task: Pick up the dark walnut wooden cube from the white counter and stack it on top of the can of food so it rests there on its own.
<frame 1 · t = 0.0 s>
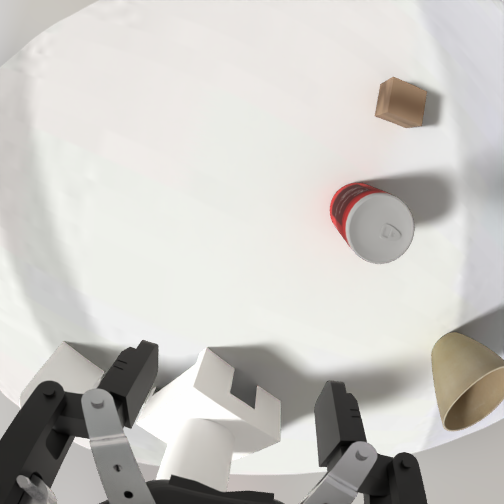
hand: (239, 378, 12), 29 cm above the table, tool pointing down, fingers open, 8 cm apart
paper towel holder: (213, 396, 52), on the table
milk: (79, 369, 55), on the table
walnut cube: (393, 106, 33), on the table
canned food: (355, 209, 38), on the table
plant pot: (445, 347, 45), on the table
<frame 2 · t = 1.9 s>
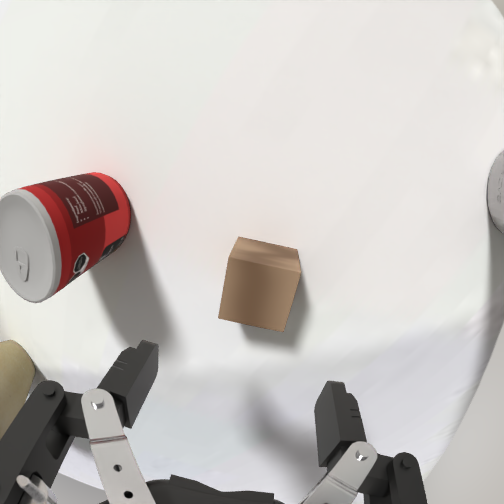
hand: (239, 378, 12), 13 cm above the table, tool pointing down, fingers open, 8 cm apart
walnut cube: (261, 269, 25), on the table
canned food: (101, 212, 25), on the table
plant pot: (20, 356, 35), on the table
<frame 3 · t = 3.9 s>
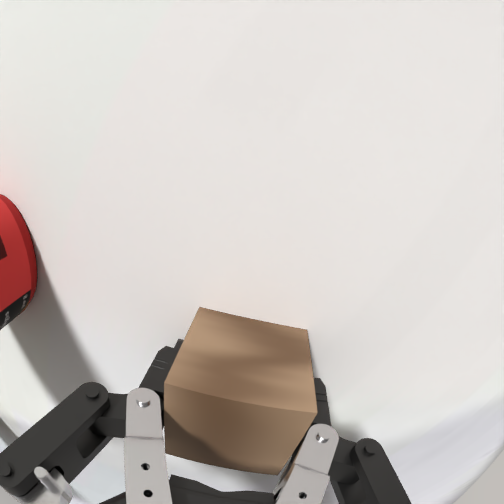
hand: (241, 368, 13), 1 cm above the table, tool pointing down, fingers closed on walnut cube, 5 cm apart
walnut cube: (243, 359, 14), on the table, touching gripper
canned food: (6, 250, 13), on the table
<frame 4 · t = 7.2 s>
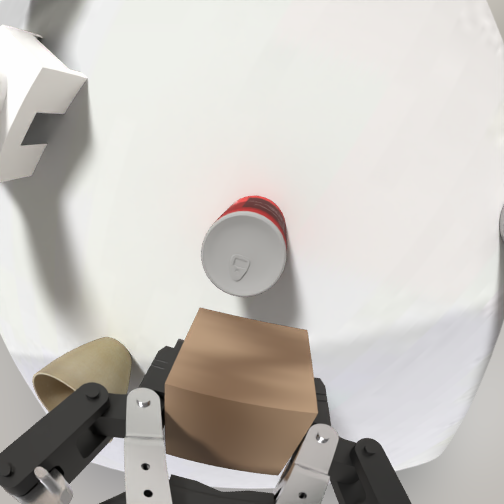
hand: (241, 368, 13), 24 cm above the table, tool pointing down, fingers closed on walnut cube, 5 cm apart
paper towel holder: (32, 100, 32), on the table
walnut cube: (243, 360, 14), point 24 cm above the table, touching gripper
canned food: (254, 226, 36), on the table
plant pot: (114, 351, 46), on the table
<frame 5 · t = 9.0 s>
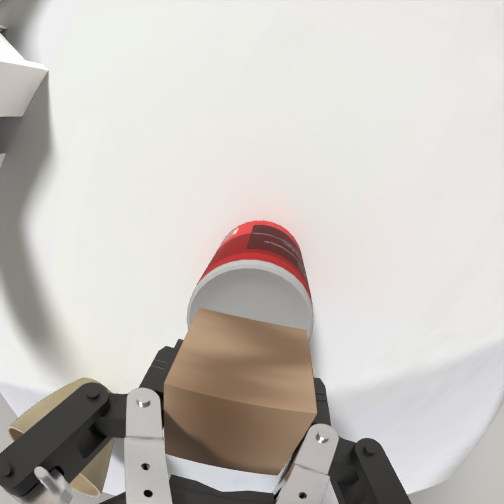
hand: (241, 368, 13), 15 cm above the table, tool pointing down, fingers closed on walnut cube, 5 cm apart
walnut cube: (243, 360, 14), point 14 cm above the table, touching gripper
canned food: (259, 259, 27), on the table
plant pot: (96, 392, 37), on the table
when the fingers open (13 cm above the table, at t = 10.3 s): walnut cube stays where it is, resting on canned food.
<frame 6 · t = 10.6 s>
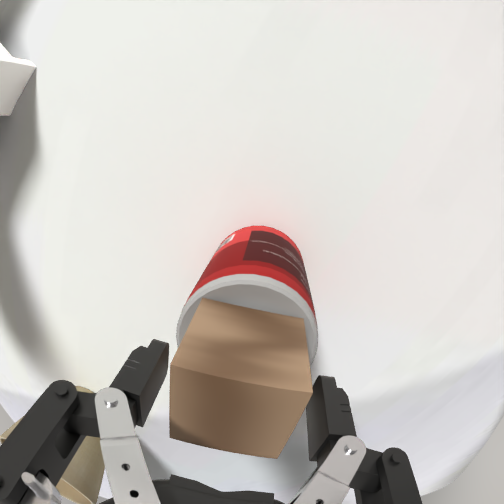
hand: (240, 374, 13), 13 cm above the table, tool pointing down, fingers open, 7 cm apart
walnut cube: (243, 348, 15), point 11 cm above the table, touching canned food
canned food: (258, 267, 25), on the table, touching walnut cube
plant pot: (90, 401, 35), on the table
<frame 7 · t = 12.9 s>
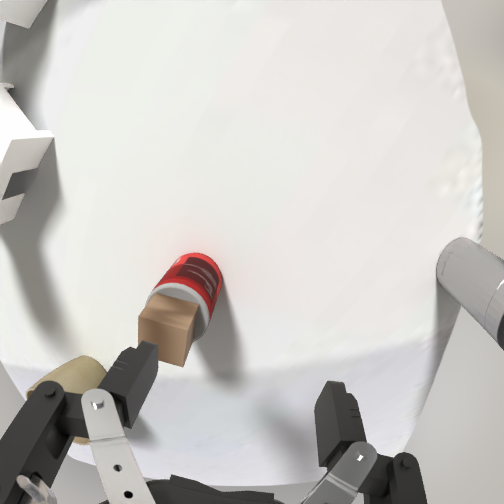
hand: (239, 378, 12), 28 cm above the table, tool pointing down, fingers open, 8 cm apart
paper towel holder: (9, 149, 36), on the table
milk: (32, 1, 25), on the table
walnut cube: (174, 316, 32), point 11 cm above the table, touching canned food
canned food: (197, 276, 42), on the table, touching walnut cube
plant pot: (91, 367, 51), on the table
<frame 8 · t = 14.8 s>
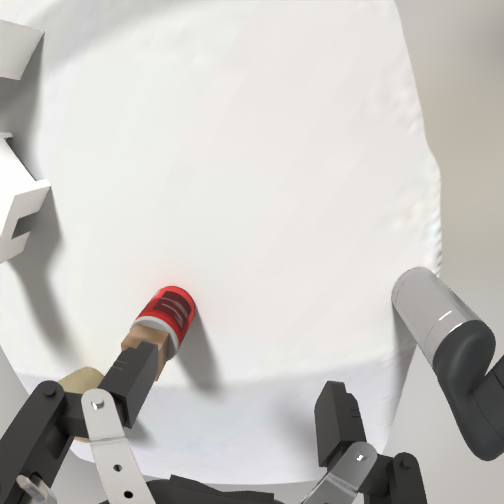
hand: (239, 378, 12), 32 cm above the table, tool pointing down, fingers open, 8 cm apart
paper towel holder: (13, 192, 45), on the table
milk: (20, 51, 34), on the table
walnut cube: (152, 341, 39), point 11 cm above the table, touching canned food
canned food: (175, 304, 49), on the table, touching walnut cube
plant pot: (94, 376, 59), on the table
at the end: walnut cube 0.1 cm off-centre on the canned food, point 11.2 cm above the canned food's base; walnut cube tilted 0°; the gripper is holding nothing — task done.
